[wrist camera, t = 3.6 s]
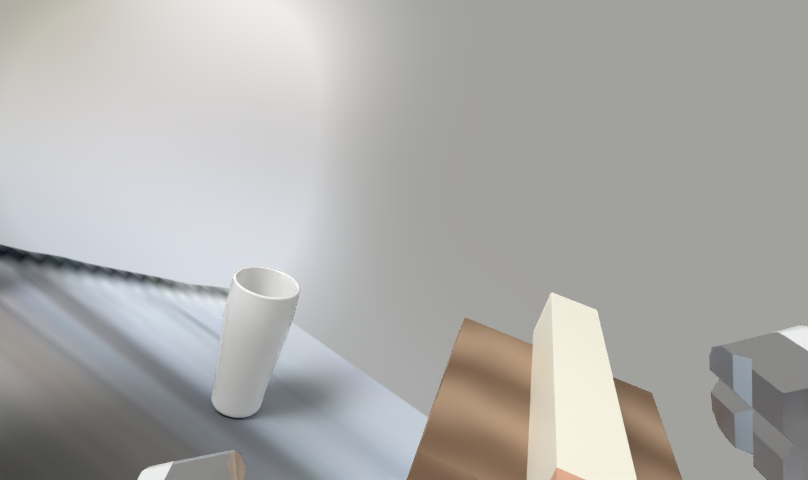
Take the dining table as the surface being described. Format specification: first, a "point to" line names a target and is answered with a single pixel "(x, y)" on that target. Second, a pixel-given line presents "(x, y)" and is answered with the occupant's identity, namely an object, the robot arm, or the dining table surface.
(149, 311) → the dining table surface
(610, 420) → the white stick tan end
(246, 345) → the drinking glass
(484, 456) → the walnut stand
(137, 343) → the dining table surface
